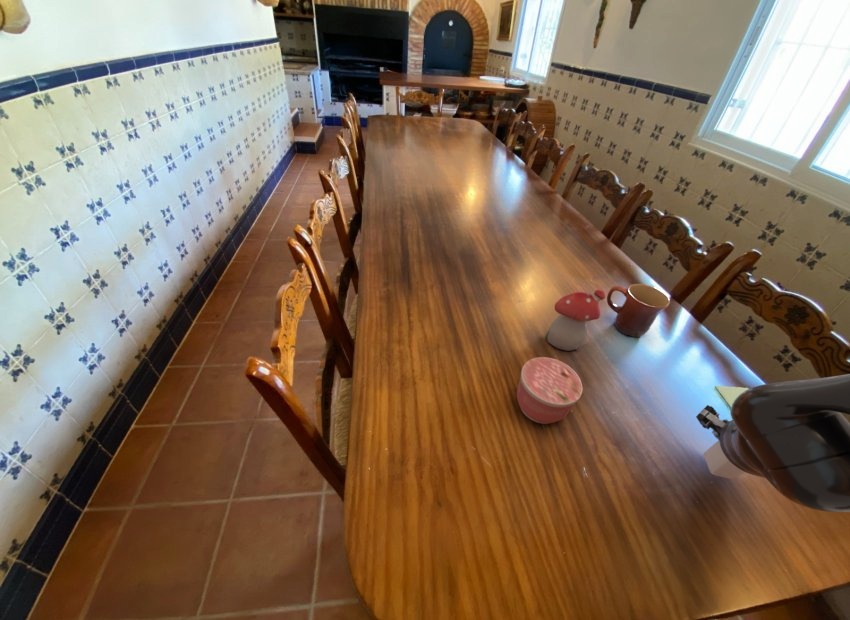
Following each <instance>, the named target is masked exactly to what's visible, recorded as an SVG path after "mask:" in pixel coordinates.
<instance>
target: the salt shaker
mask: <svg viewBox="0 0 850 620" xmlns="http://www.w3.org/2000/svg"><path fill="white" fill-rule="evenodd" d="M703 457H704V460H705V463H706V466H707V468H708V471H709V472H710V474H711V475H713V476H715V477H716V476H717V477H721V478H725V479H728V480H738V479H739V478H740V477H742V476H743V475H744V474H747V473H746V472H744V471H742V470H740V469H739V468H737V467H736V466H735V465H733V464H732V463H731V462H730V461H729V460H728V459H727V458H726V456H725V455H724V453H723V451H722V449H721V446H720V441H719V440H718V439H717V441H716V442H715V443H713V444H712V445H711V446H710V447H709V448H707V450H706V451H704V453H703Z"/></svg>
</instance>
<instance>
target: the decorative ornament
mask: <svg viewBox="0 0 850 620" xmlns="http://www.w3.org/2000/svg"><path fill="white" fill-rule="evenodd" d="M606 298H607V295H606V292H605V291H604V290H602V289H596V290H595V291H594V293H589V292H587V291H574V292H572V293H569V294H566V295H564V296H562V297H561V298H559V299H558V300H557V301H556V302H555V303H554V310H555V312H557V313H558V314H559V316H557V317H556V318H555V319H554V320H553V321H552V322H551V324H550V326H549V327H548V331H547V333H546V335H545V339H546V341H547V343H549V344H550V345H551V346H553V347H554V348H556V349H558V350H563V351H567V352H570V351H574V350H577V349H578V348H579V347H580V346H581V345H582V344H583V342H585V340H586V338H587V336H588V324H587V322H591V321H596V320H599V318H600V317H601V315H602V314H601V313H602V312H601V306H600V301H603V300H605V299H606Z"/></svg>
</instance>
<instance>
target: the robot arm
mask: <svg viewBox="0 0 850 620" xmlns="http://www.w3.org/2000/svg"><path fill="white" fill-rule="evenodd" d="M843 414H845V415H849V416H850V373H845V374H841V375H839V374H838V375H833V376H826V377H819V378H809V379H798V380H788V381H778V382H771V383H764V384H761V385H757V386H753V387H750V388H749V389H748V390H746V391H744V392H743V393H741V394H740V395H739V396H738V397H737V398H736V399H735V401H734V402H733V404H732V407H731V408H730V418H731V420H730V419H723V420H722V419H721V418H720V413H719V412H717V410H716V409H715V408H714V407H713V406H710V405H708V404H707V405H706V406H704V408H703V409H701V410H700V412H699V413H698V414H697V415H696V416H695V418H696V419H697V422H699V424H700V425H701V427H702V428H704V429H706V430H709V429H711V430H712V431H711V434H713V436H714V438H716V440H717V441H718V440H719V441H720V446H721V449H722V451H723V453H724V455H725V456H726V458H727V459H728V460H729V461H730V462H731V463H732V464H733V465H735V466H736V467H737V468H739V469H740V470H742V471H744V472H746V473H745V474H749V475H752V476H756V477H758V478H759V477H760V478H764V479H766V480H767V481H768V482H769V483H770V484H771V485H772V487H774V489H775V490H776V491H777V492H779V493H780V494H781V495H782V496H783V497H785V498H786V499H787V500H789V501H791V502H793V503H794V504H797V505H799V506H801V507H805V508H808V509H811V510H816V511H820V512H828V513H829V512H830V513H850V422H849V420H848V419H847V418H846V417H845V416H844V415H843Z"/></svg>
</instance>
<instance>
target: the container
mask: <svg viewBox="0 0 850 620" xmlns="http://www.w3.org/2000/svg"><path fill="white" fill-rule="evenodd" d="M582 394H583V384H582V381H581V378H580V376H579V375H578V374H577V372H576V371H575V370H574V369H573V368H572V367H570V366H569V365H568V364H566V363H565V362H563V361H561V360H559V359H555V358H553V357H552V358H551V357H548V356H547V357H545V356H540V357H534V358H531V359H529V360H527V361H526V362H525V364H524V365H523V366H522V368H521V372H520V378H519V381H518V385H517V387H516V399H517V404H518V405H519V408H520V410H521V412H522V413H523V414H524V415H525V417H526V418H528V419H529V420H531V421H533V422H534V423H538V424H541V425H549V424H554V423H556V422H559V421H562V420H563V419H564V418H566V417H567V415H568V414H569V413H570V411H571V410H572V408H573V407H574V405H575V404H576V403H577V402H578V401H579V400H580V398H581V396H582Z"/></svg>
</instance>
